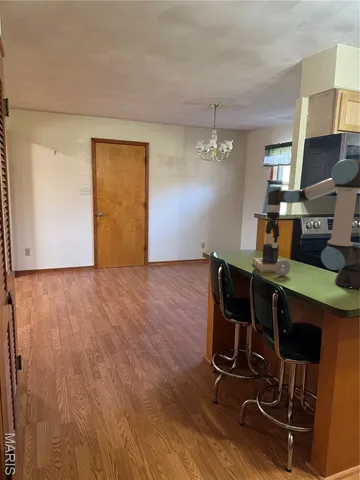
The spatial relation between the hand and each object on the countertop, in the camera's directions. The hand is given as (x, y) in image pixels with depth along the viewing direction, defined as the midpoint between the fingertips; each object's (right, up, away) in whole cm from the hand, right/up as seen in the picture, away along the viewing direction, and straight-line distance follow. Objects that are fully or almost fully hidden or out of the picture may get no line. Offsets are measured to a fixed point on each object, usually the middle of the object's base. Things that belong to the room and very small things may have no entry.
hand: (271, 245), depth 203 cm
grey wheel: (+2, -18, -15) cm, 23 cm away
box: (0, -10, +2) cm, 10 cm away
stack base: (0, -14, +3) cm, 14 cm away
